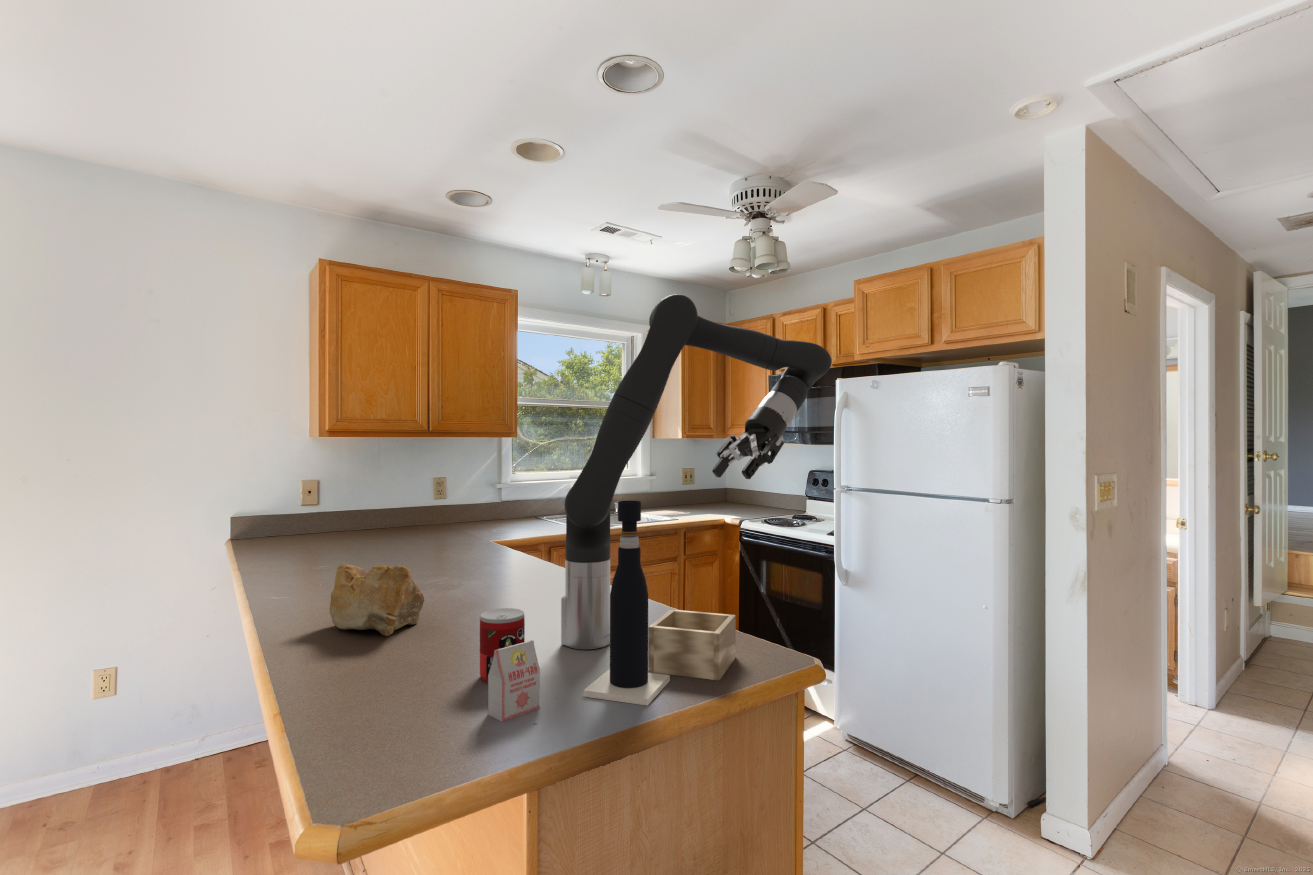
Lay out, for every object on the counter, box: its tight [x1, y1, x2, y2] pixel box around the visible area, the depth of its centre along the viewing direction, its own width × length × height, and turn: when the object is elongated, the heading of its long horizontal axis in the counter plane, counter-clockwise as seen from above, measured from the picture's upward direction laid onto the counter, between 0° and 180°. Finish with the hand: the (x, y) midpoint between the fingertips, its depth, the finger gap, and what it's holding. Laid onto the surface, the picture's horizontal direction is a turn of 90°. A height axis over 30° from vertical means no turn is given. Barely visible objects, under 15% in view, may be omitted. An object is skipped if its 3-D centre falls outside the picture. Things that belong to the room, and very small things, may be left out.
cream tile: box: [583, 668, 671, 707], centre depth 105 cm, size 11×11×1 cm
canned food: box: [479, 607, 526, 684], centre depth 111 cm, size 8×8×11 cm
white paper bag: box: [487, 640, 541, 722], centre depth 96 cm, size 4×7×10 cm, turn 137°
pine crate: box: [648, 609, 737, 681], centre depth 117 cm, size 13×13×8 cm
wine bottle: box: [609, 500, 649, 688], centre depth 106 cm, size 6×6×30 cm
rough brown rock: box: [329, 564, 425, 637], centre depth 142 cm, size 23×17×15 cm
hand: (730, 475), depth 123 cm, fingers open, 8 cm apart
